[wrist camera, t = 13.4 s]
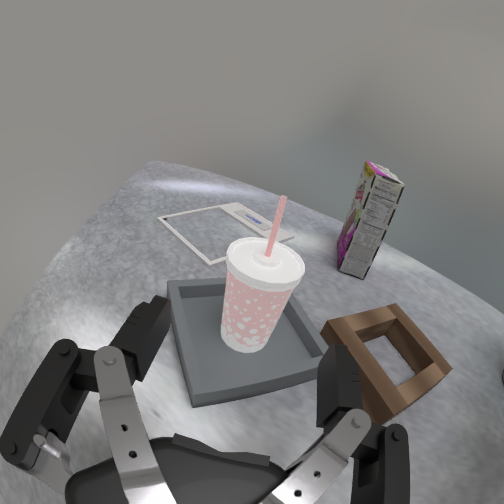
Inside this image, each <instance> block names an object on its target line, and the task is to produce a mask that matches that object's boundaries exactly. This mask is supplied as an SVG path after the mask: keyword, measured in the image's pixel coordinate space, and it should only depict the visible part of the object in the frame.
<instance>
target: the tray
mask: <svg viewBox="0 0 504 504" xmlns="http://www.w3.org/2000/svg"><path fill="white" fill-rule="evenodd" d="M226 279H227V278H211V279H193V280H172V281H167V299H170V300H171V322H172V326H173V331H174V336H175V340H176V345H177V349H178V353H179V357H180V362H181V366H182V370H183V373H184V377H185V381H186V385H187V388H188V392H189V396H190V399H191V403H192V406H193V408H195V407H202V406H208V405H214V404H219V403H225V402H230V401H234V400H239V399H244V398H248V397H253V396H257V395H261V394H265V393H269V392H273V391H276V390H280V389H284V388H287V387H291V386H294V385H298V384H301V383H304V382H307V381H310V380H313V379H317V369H318V365H319V362H320V360H321V359H322V357H323V355H324V354H325V352H326V351H327V349H328V348H329V347H328V345H327V344H326V342H325V341H324V339H323V338H322V336H321V335H320V333H319V332H318V330H317V329H316V328H315V326H314V325H313V323H312V322H311V320H310V319H309V317H308V316H307V314H306V313H305V311H304V310H303V308H302V307H301V305H300V304H299V303H298V301H297V300H296V298H295V297H294V295H293V294H292V293H291V295H290V297H289V299H288V301H287V303H286V305H285V308H284V310H283V312H282V314H281V316H280V318H279V320H278V322H277V324H276V326H275V328H274V330H273V332H272V333H271V335H270V337H269V339H268V341H267V343H266V345H265V346H264V347H263V348H262V349H261V350H258V351H256V352H254V353H243V352H239V351H236V350H234V349H232V348H231V347H229V346H228V345H226V343H225V342H224V340H223V339H222V336H221V323H222V314H223V305H224V296H225V288H226Z"/></svg>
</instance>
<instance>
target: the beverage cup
mask: <svg viewBox="0 0 504 504" xmlns="http://www.w3.org/2000/svg"><path fill="white" fill-rule="evenodd" d="M286 201H287V197H286V196H283V195H281V197H280V200H279V204H278V208H277V211H276V215H275V219H274V222H273V226H272V230H271V233H270V237H269V239H266V238H257V237H248V238H242V239H238V240H236V241H235V242H233V243H231V244H230V246H229V248H228V250H227V253H226V255H227V258H226V263H227V268H228V271H227V279H226V288H225V296H224V305H223V314H222V323H221V336H222V339H223V340H224V342H225V343H226V345H228V346H229V347H231V348H232V349H234V350H236V351H239V352H243V353H254V352H256V351H258V350H261V349H262V348H263V347H264V346H265V345H266V343H267V341H268V339H269V337H270V335H271V333H272V332H273V330H274V328H275V326H276V324H277V322H278V320H279V318H280V316H281V314H282V312H283V310H284V308H285V305H286V303H287V301H288V299H289V297H290V295H291V293H292V291H293V289H294V288H295V287H296V286H297V284H298V283H299V282H300V281H301V278H302V276H303V275H304V272H305V264H304V262H303V261H302V259H301V257H300V256H299V255H298V254H297V253H296V252H295V251H293V250H292V249H291V248H289V247H287V246H285V245H283V244H281V243H279V242H277V241H275V239H276V236H277V232H278V229H279V225H280V222H281V218H282V215H283V211H284V208H285V204H286Z"/></svg>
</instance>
